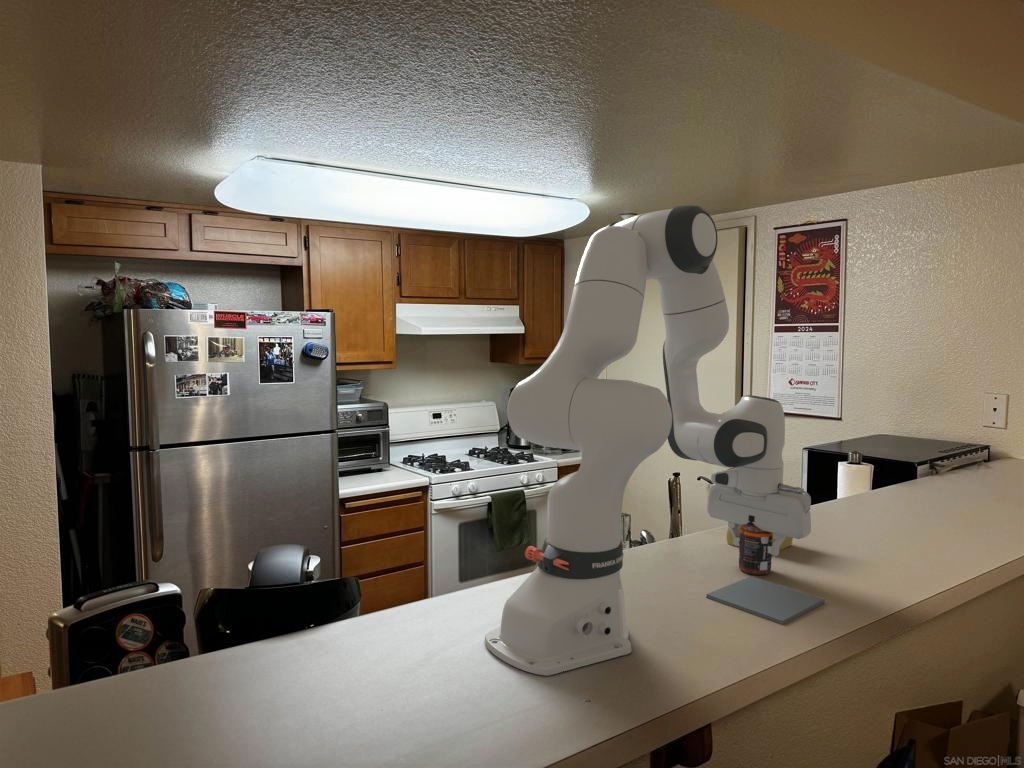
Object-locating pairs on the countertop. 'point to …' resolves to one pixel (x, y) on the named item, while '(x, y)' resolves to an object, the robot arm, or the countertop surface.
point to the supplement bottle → (754, 549)
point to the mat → (766, 599)
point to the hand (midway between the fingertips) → (755, 549)
